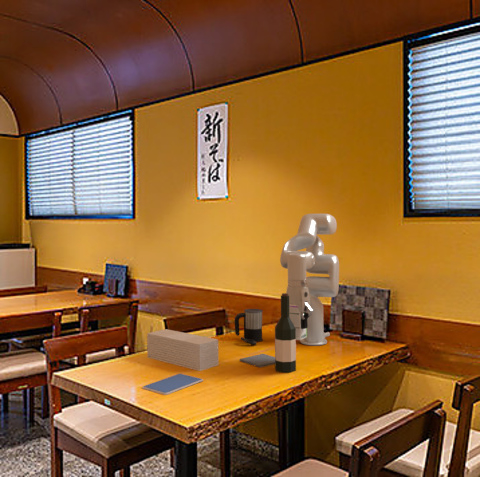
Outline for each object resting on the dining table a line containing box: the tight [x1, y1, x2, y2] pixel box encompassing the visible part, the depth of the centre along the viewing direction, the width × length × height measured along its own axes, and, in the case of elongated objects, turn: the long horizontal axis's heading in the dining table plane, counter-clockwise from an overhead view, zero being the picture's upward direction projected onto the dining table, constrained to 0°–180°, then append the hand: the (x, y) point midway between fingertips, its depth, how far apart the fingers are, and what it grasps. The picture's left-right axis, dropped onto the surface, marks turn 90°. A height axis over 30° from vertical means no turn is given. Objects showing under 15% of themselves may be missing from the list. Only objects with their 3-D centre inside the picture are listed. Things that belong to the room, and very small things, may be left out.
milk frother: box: [234, 308, 263, 346], centre depth 249 cm, size 14×16×15 cm
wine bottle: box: [274, 292, 297, 374], centre depth 203 cm, size 8×8×30 cm
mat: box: [239, 353, 275, 368], centre depth 216 cm, size 13×13×1 cm
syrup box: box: [289, 304, 307, 341], centre depth 212 cm, size 6×6×14 cm
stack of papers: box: [146, 328, 220, 372], centre depth 217 cm, size 32×11×11 cm, turn 49°
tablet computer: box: [142, 373, 204, 396], centre depth 187 cm, size 19×13×1 cm, turn 142°
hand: (297, 326), depth 212 cm, fingers closed on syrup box, 6 cm apart
